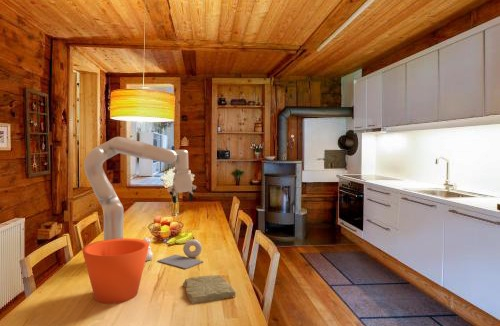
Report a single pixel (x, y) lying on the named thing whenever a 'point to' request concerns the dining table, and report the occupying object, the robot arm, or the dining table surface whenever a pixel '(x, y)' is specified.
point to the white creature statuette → (149, 253)
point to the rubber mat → (180, 261)
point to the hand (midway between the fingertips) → (182, 202)
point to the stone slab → (207, 288)
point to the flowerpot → (115, 268)
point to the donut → (192, 243)
